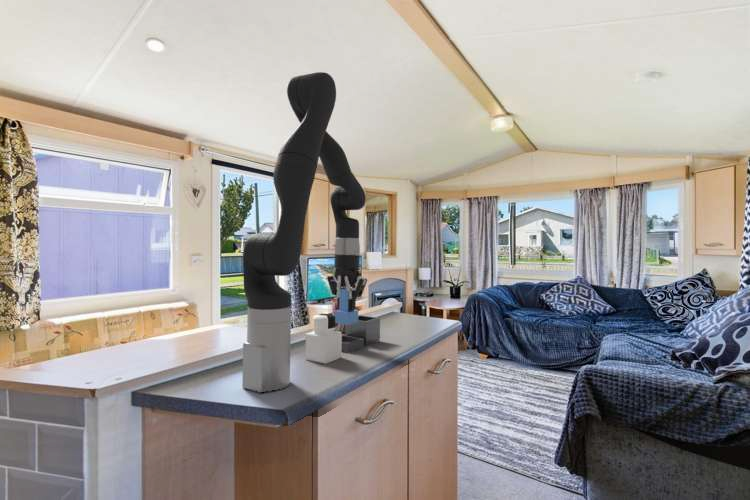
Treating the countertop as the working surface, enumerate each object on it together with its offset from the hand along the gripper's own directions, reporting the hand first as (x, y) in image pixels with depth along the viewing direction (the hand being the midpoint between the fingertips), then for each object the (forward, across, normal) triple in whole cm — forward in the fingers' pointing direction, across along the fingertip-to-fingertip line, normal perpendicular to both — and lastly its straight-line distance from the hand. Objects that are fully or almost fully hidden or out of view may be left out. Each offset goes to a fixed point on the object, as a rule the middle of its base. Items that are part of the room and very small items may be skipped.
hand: (346, 310), depth 116 cm
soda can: (+12, -15, +17) cm, 26 cm away
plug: (+4, 0, 0) cm, 4 cm away
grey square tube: (+11, 0, +9) cm, 14 cm away
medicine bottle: (+12, +2, -13) cm, 17 cm away
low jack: (+11, 0, 0) cm, 11 cm away
